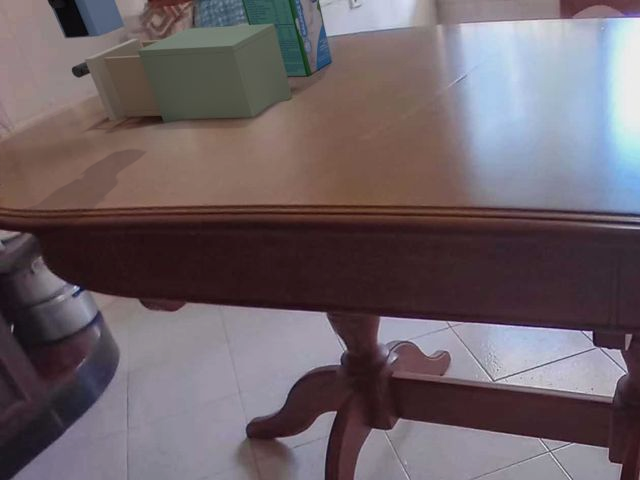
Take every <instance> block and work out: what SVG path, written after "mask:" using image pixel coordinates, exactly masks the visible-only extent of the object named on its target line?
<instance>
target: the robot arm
mask: <svg viewBox="0 0 640 480" xmlns="http://www.w3.org/2000/svg"><path fill="white" fill-rule="evenodd" d="M47 3H48V5H49V6H50V7H51V9H52V8H54V9H55V12H56V14H57V16H58V19H59V21H60V23H61V26H62V28H63V30H64V33H65V35H66V37H79V36H87V35H89V34H88V31H87V29H86V26H85V24H84V21H83V19H82V17H81V14H80V12H79V9H78V7H77V4H76V2H75V0H47Z"/></svg>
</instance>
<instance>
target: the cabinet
mask: <svg viewBox="0 0 640 480" xmlns="http://www.w3.org/2000/svg"><path fill="white" fill-rule="evenodd" d="M159 40H160V41H158V42H156V43H153V44H151V45H149V46H146V47H144V48H143V47H142V49H140V50H138V53H139V56H140V59H141V61H142V64H143V67H144V69H145V72H146V75H147V78H148V80H149V83H150V86H151V89H152V91H153V94H154V97H155V99H156V102H157V105H158V108H159V110H160V113H161V116H160V117H161V118H162V120H163V124H168V123H173V122H179V121H185V120H198V119H200V120H201V119H235V118H237V119H239V118H254V117H256V116H257V115H258V114H259V113H261V112H262V111H264V110H265V109H267V108H268V107H269V106H270V105H272V104H277V103H282V102H283V103H284V102H287V101H288V100H290V99H291V98H293V94H292V90H291V87H290V83H289V78H288V76H287V74H286V70H285V66H284V62H283V58H282V54H281V50H280V46H279V42H278V38H277V34H276V30H275V26H274V24H260V25H249V24H245V25H230V26H229V25H227V26H211V27H193V28H185V29H182V30H181V31H179V32H176V33H174V34H172V35H170V36H167V37H165V38H163V39H159Z"/></svg>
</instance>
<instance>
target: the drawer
mask: <svg viewBox="0 0 640 480" xmlns="http://www.w3.org/2000/svg"><path fill="white" fill-rule="evenodd" d="M160 40H161V39H152V40H143V41H141V40H140V38H132V39H129V40H126V41H124V42H122V43H120V44H117V45H114V46H112V47H110V48H107V49H105V50H103V51H100V52H98V53H96V54H93V55H91V56H88V57H85V58H84V61H83V62H81V63H79V64H76V65H74V66H72V67H71V73H72V75H73V76H74V77H76V78H78V79H80V78H83V77H85V76H87V75H89V74H90V76H91V78H92V81H93V84H94V86H95V88H96V91H97V92H98V93H97V94H98V95H99V97H100V100H101V102H102V105H103V107H104V110H105V112H106V115H107V117H108V120H109V121H118V120H120V119H122V118H123V117H156V116H157V117H158V116H159V117H162V116H161V113H160V110H159V108H158V105H157V102H156V99H155V97H154V94H153V91H152V89H151V86H150V83H149V80H148V78H147V75H146V72H145V69H144V67H143V64H142V61H141V59H140V56H139V53H138V50H140V49H142V48H144V47H146V46H149V45H151V44H153V43H156V42H158V41H160Z"/></svg>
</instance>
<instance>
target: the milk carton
mask: <svg viewBox="0 0 640 480" xmlns="http://www.w3.org/2000/svg"><path fill="white" fill-rule="evenodd" d="M241 1H242V5H243V9H244V13H245V16H246V20H247V23H248V24H247V25H260V24H274V26H275V30H276V34H277V38H278V42H279V46H280V50H281V54H282V58H283V62H284V66H285V70H286V74H287V77H309V76H311V75H312V74H314V73H316V72H317V71H319V70H320V69H322V68H324V67H325V66H327V65H329V64H330V63H332V62H333V59H332V55H331V49H330V46H329V40H328V37H327V31H326V27H325V22H324V17H323V12H322V8H321V7H322V6H321V3H320V0H241Z"/></svg>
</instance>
